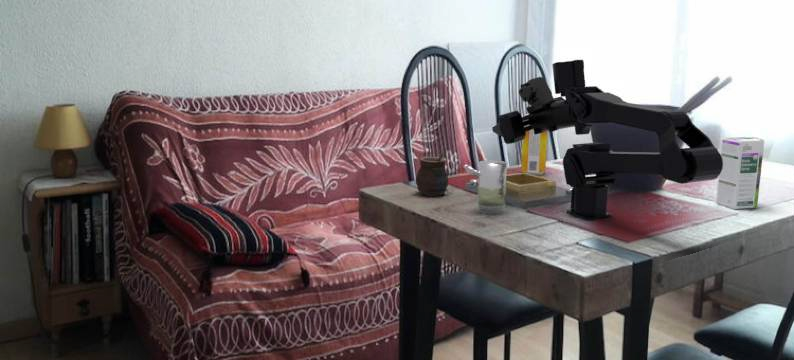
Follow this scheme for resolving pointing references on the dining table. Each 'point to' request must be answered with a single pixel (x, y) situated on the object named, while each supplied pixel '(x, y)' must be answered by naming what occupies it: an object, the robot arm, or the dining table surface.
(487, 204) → the glass mug
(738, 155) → the syrup box
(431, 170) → the mate gourd
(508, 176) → the grey plate with frame
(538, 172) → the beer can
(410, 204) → the dining table surface
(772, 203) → the dining table surface
